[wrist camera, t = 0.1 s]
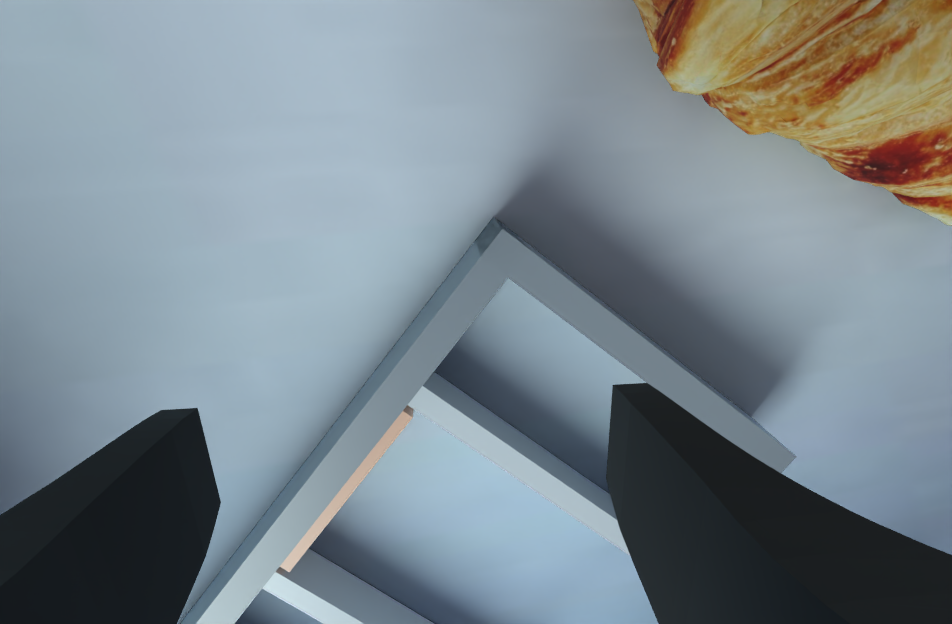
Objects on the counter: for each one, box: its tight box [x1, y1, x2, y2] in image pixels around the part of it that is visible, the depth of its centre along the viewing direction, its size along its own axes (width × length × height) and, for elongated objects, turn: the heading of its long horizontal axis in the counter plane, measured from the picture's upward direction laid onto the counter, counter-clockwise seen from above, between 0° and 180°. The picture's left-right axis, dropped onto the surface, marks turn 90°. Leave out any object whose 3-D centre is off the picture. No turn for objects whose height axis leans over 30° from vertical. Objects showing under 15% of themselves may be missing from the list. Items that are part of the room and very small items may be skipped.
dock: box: [180, 217, 796, 624], centre depth 22 cm, size 20×12×3 cm, turn 142°
